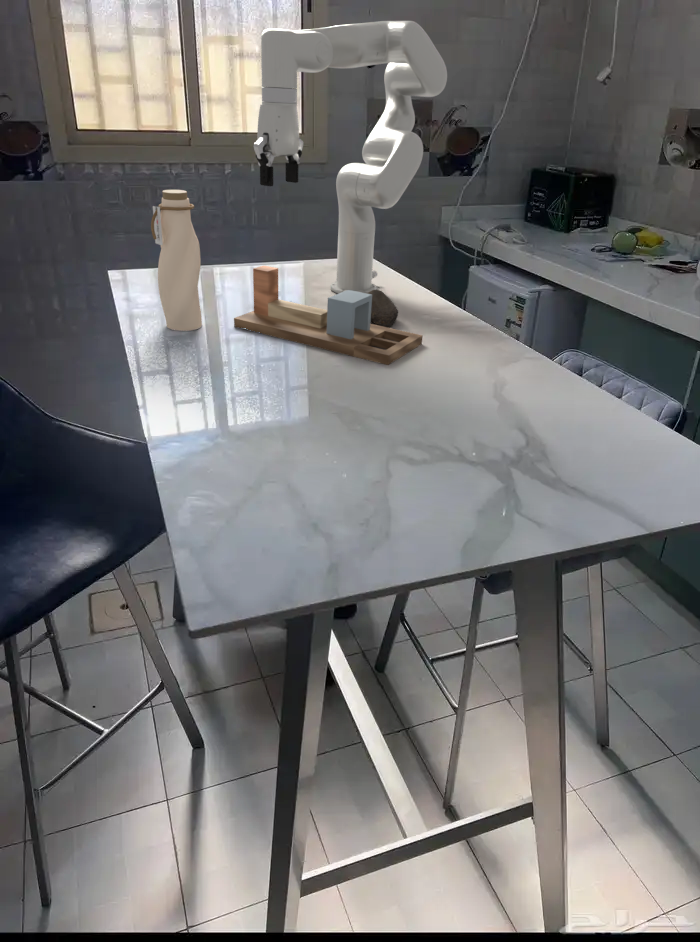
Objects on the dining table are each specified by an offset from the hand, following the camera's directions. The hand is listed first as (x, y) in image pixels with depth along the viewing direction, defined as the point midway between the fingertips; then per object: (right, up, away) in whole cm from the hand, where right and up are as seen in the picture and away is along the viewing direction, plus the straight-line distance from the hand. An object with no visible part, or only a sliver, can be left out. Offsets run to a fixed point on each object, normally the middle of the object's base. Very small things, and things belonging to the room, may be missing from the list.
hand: (279, 183), depth 155 cm
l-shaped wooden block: (+3, -30, 0) cm, 31 cm away
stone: (+22, -30, +8) cm, 38 cm away
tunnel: (+16, -35, -6) cm, 39 cm away
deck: (+11, -35, -3) cm, 37 cm away
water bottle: (-21, -33, -3) cm, 39 cm away
